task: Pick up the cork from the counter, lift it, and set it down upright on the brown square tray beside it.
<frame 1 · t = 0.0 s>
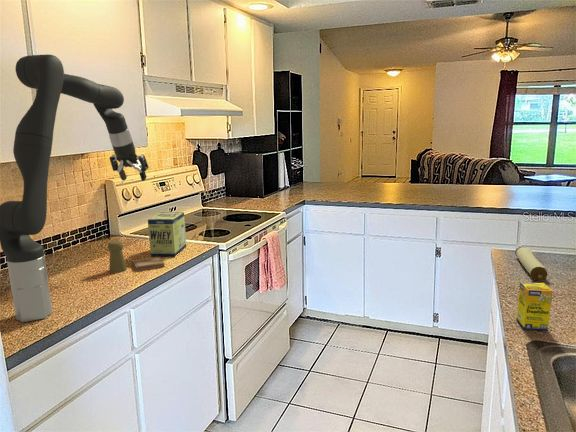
hand: (134, 179, 178), 31 cm above the worktop, tool tilted 20°, fingers open, 8 cm apart
cork: (118, 270, 168), on the worktop
supplement box: (531, 326, 118), on the worktop
protein box: (169, 252, 191), on the worktop
brown square tray: (148, 265, 173), on the worktop
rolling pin: (529, 269, 161), on the worktop
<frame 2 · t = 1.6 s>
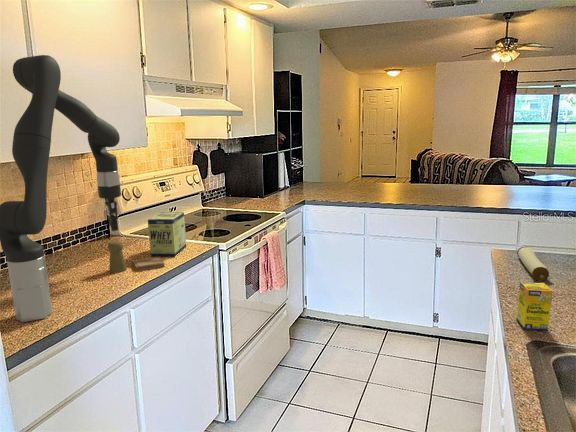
hand: (113, 227, 165), 16 cm above the worktop, tool pointing down, fingers open, 8 cm apart
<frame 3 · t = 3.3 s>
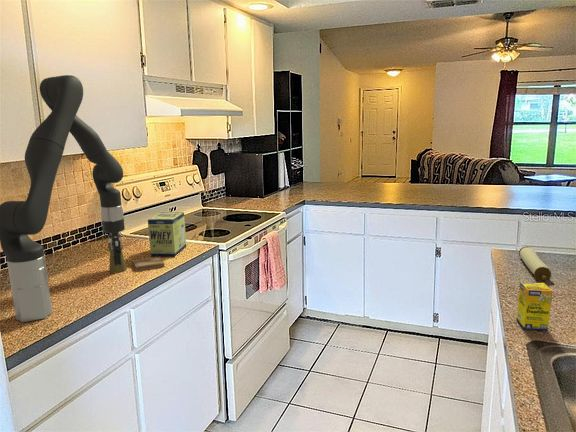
hand: (117, 263, 168), 3 cm above the worktop, tool pointing down, fingers closed on cork, 4 cm apart
cork: (118, 270, 168), on the worktop, touching gripper
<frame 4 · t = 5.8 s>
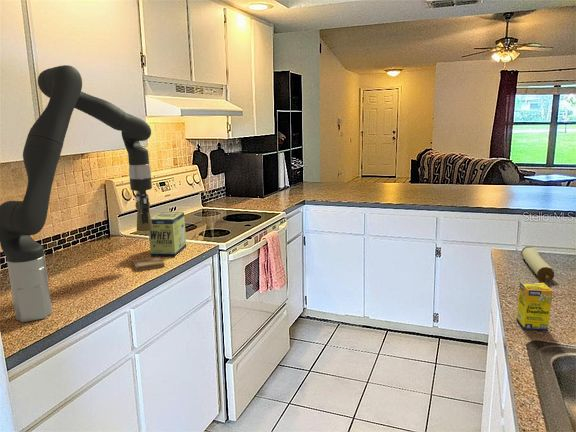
hand: (144, 222, 169), 17 cm above the worktop, tool pointing down, fingers closed on cork, 4 cm apart
cork: (145, 229, 170), point 14 cm above the worktop, touching gripper
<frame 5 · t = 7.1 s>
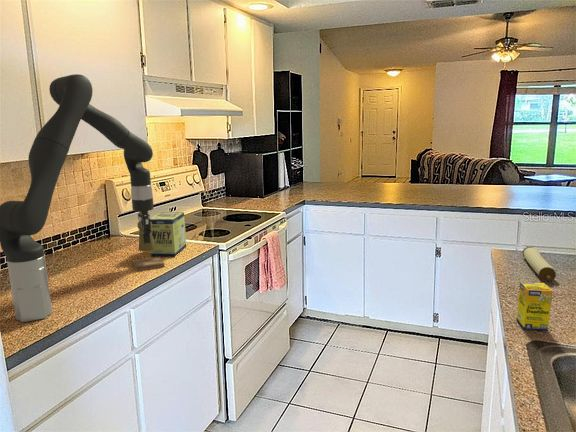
hand: (146, 241, 171), 9 cm above the worktop, tool pointing down, fingers closed on cork, 4 cm apart
cork: (146, 249, 172), point 6 cm above the worktop, touching gripper
when the fingers open (5 cm above the worktop, at t = 8.3 s): cork stays where it is, resting on brown square tray.
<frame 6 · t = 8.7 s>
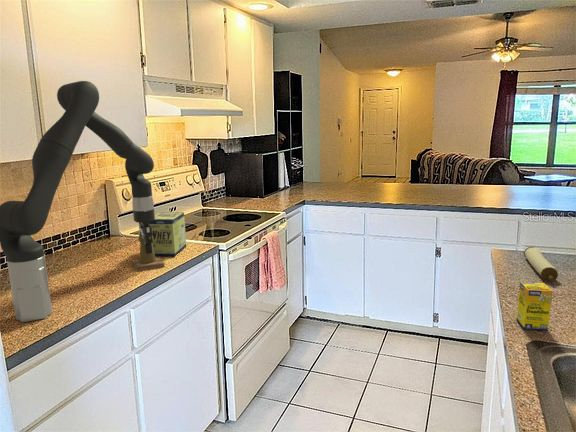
hand: (147, 250, 172), 6 cm above the worktop, tool pointing down, fingers open, 8 cm apart
cork: (147, 261, 173), point 1 cm above the worktop, touching brown square tray
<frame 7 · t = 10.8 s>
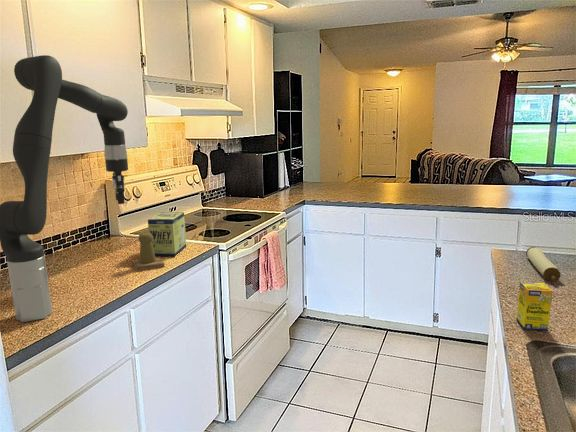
hand: (120, 202, 167), 25 cm above the worktop, tool pointing down, fingers open, 8 cm apart
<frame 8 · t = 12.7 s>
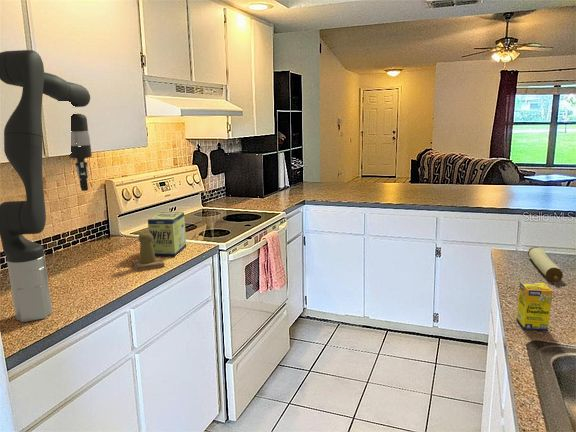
hand: (84, 189, 165), 30 cm above the worktop, tool pointing down, fingers open, 8 cm apart
at the end: cork 0.1 cm from the brown square tray (horizontally); cork tilted 0°; cork point 1.5 cm above the worktop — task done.
